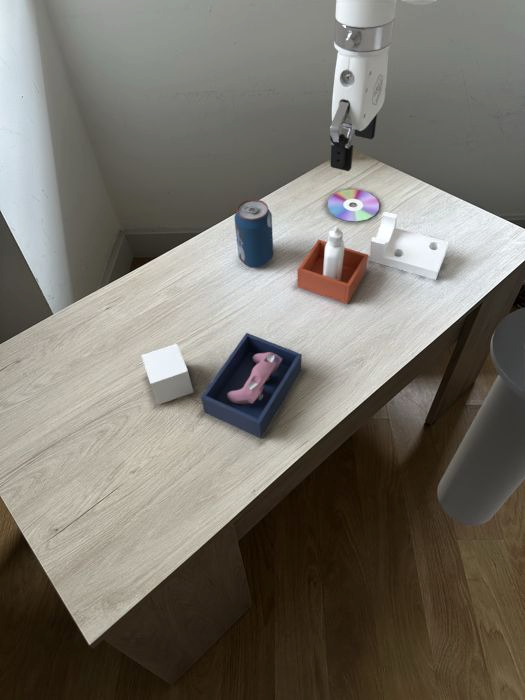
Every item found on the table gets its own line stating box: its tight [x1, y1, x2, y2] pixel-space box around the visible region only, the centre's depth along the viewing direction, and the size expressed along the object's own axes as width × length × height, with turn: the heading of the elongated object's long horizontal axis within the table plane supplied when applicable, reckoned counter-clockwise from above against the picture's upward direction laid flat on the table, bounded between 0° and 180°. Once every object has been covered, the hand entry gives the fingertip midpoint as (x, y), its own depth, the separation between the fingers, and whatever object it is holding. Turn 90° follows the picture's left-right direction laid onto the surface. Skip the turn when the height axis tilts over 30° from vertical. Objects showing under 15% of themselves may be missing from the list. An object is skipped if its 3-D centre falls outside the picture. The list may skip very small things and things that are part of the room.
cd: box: [327, 189, 380, 222], centre depth 113 cm, size 11×11×1 cm
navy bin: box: [200, 332, 303, 439], centre depth 83 cm, size 10×14×5 cm
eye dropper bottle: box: [323, 225, 345, 281], centre depth 94 cm, size 4×6×12 cm
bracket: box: [369, 211, 450, 281], centre depth 99 cm, size 13×7×8 cm, turn 64°
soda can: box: [234, 199, 274, 269], centre depth 99 cm, size 7×7×12 cm
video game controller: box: [227, 352, 282, 404], centre depth 82 cm, size 10×5×7 cm, turn 151°
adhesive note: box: [140, 343, 194, 406], centre depth 84 cm, size 6×6×6 cm
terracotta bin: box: [296, 239, 369, 305], centre depth 97 cm, size 10×9×5 cm
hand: (352, 152), depth 82 cm, fingers open, 9 cm apart
